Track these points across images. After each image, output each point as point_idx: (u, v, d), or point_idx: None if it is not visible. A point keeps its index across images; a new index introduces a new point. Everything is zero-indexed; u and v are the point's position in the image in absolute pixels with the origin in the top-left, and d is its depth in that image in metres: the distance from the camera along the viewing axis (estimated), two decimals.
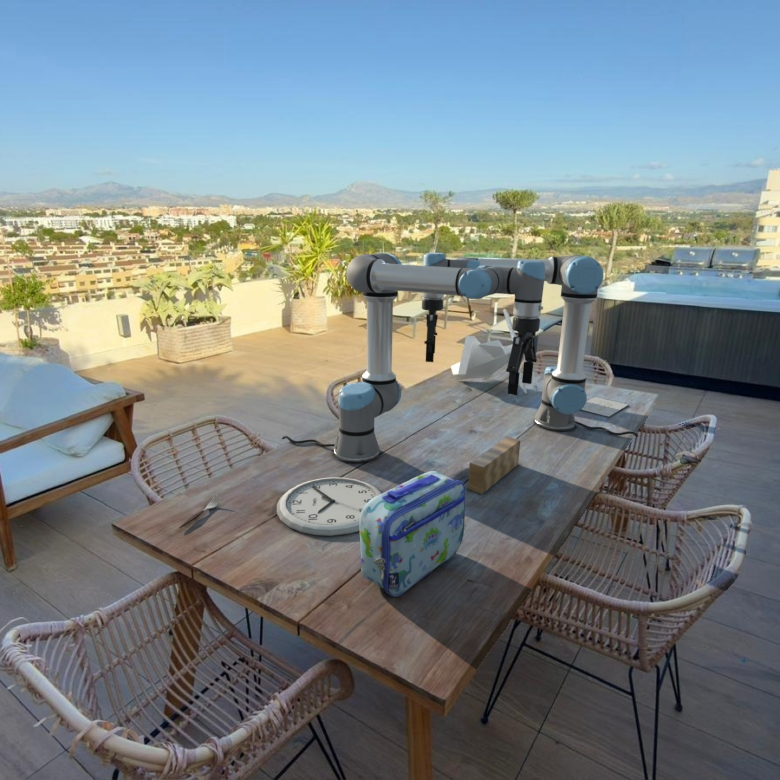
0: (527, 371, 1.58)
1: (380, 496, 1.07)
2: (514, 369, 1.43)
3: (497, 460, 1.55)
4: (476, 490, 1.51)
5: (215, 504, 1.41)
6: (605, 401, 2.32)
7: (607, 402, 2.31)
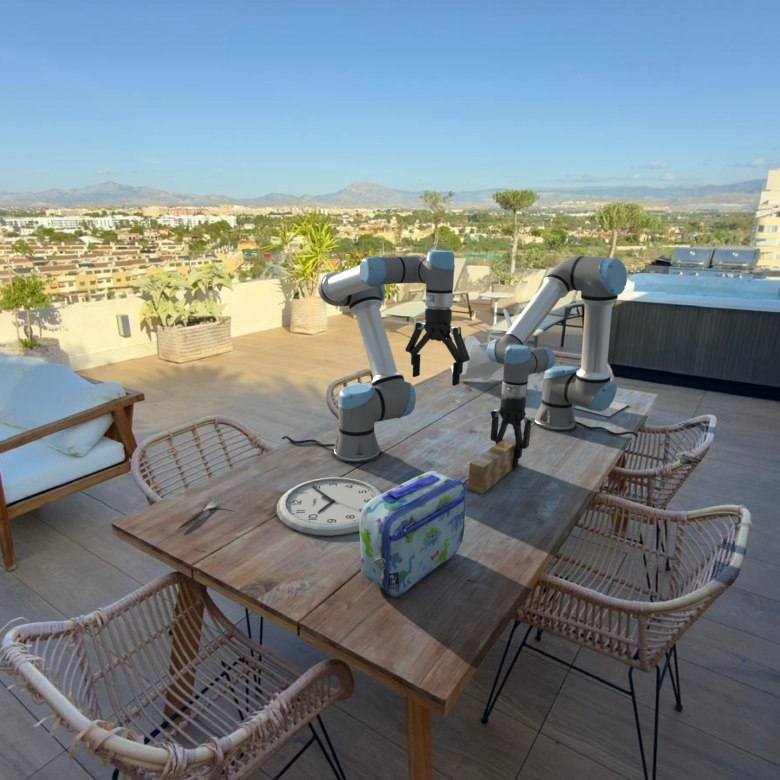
0: None
1: (380, 496, 1.07)
2: None
3: (497, 460, 1.55)
4: (476, 490, 1.51)
5: (215, 504, 1.41)
6: None
7: None
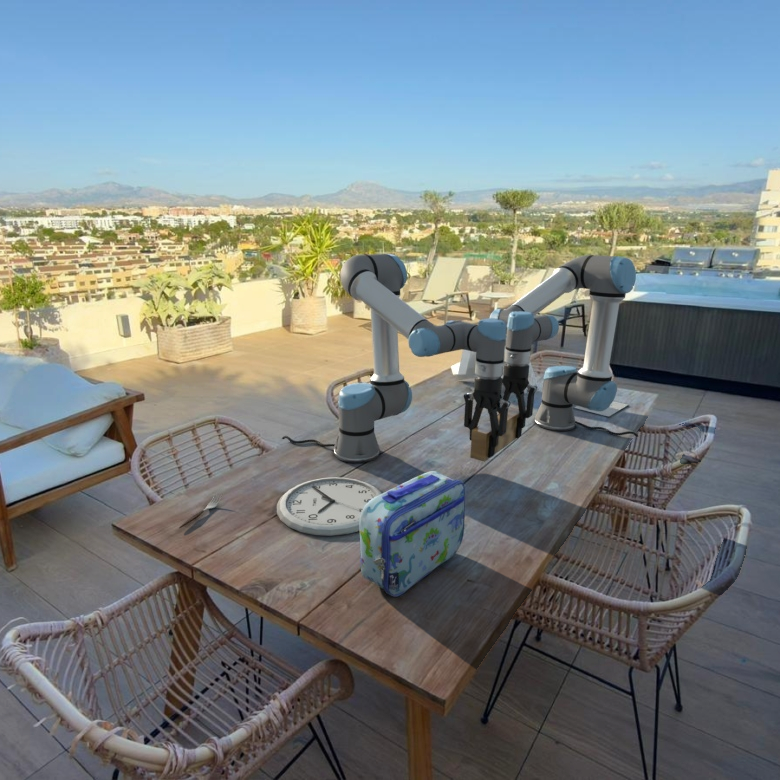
0: None
1: (380, 496, 1.07)
2: None
3: None
4: (478, 458, 1.48)
5: (215, 504, 1.41)
6: None
7: None
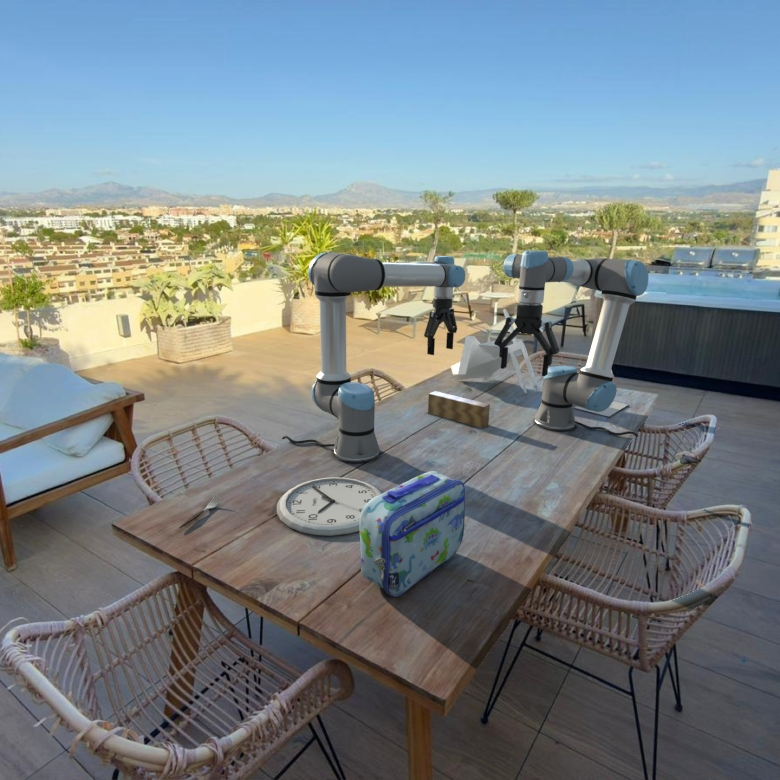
0: None
1: (380, 496, 1.07)
2: None
3: (447, 400, 2.07)
4: None
5: (215, 504, 1.41)
6: None
7: None
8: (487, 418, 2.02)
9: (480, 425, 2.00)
